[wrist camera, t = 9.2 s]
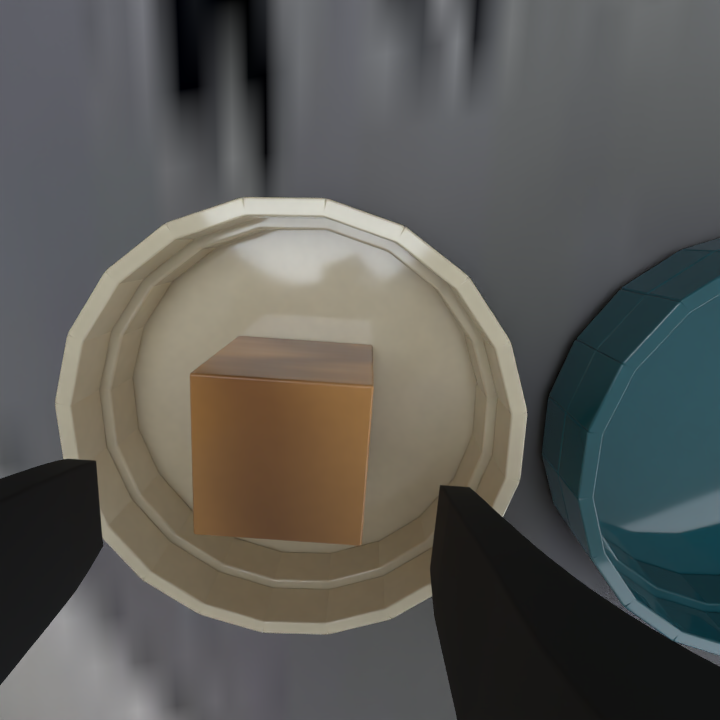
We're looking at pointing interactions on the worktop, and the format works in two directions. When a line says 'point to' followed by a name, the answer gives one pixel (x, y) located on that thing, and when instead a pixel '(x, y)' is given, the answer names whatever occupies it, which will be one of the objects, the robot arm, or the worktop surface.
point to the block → (282, 440)
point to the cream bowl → (299, 322)
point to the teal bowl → (647, 445)
